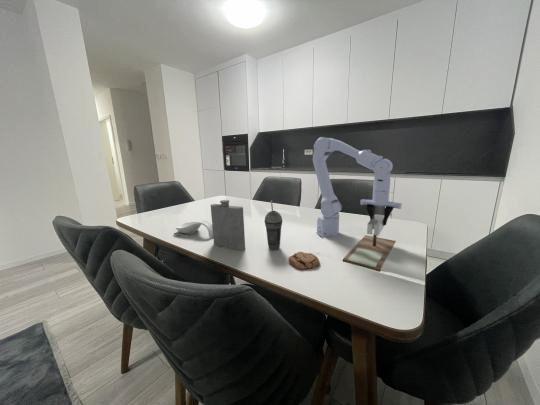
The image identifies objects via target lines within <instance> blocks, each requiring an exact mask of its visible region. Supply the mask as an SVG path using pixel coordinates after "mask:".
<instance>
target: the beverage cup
mask: <svg viewBox="0 0 540 405" xmlns="http://www.w3.org/2000/svg"><path fill="white" fill-rule="evenodd" d="M273 204H274V203H273V199H270V205H271V206H270V207H271V210H270V211H269V212H267V213H266V215H265V218H264V225H265V228H266V231H265V232H266V237H267V247H268V250H270V251H278V250H279V249H280V247H281V235H282V226H283V217H282V215H281V213H279V212H278V211H276V210H274V209H273V208H274V206H273Z"/></svg>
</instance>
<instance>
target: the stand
mask: <svg viewBox="0 0 540 405" xmlns="http://www.w3.org/2000/svg"><path fill="white" fill-rule="evenodd" d="M372 235H373V236H372ZM372 235H364V236H363V237H362V238H361V239H360V240H359V241H358V242H357V244H355V245H354V247H353V248H352V249H351V250H349V252H348V253H347V254H346V255H345V256H344V257H343V259H342V262H343V263H347V264H350V265H353V266H357V267H362V268H365V269H368V270H373V271H376V272H379V273H380V272H381V271H382V267H383V265H384V263H385V262H386V260H387V258H388V256H389V254H390V252H391V251H392V249H393V247H394V245H395V244H396V242H397V241H396V240H394V239H389V238H381V237H378V236H377V235H374V233H372Z"/></svg>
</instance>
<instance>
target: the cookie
mask: <svg viewBox="0 0 540 405" xmlns="http://www.w3.org/2000/svg"><path fill="white" fill-rule="evenodd" d="M288 263H289V265H290V266H291V267H292V268H295V269H297V270H301V271H302V270H311V269H312V270H313V269H315V268H317V267H319V264H320V260H319V258H318V257H317V255H315V254H313V253H312V252H303V251H297V252H295V253H294V254H292V255H290V256H288Z"/></svg>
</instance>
